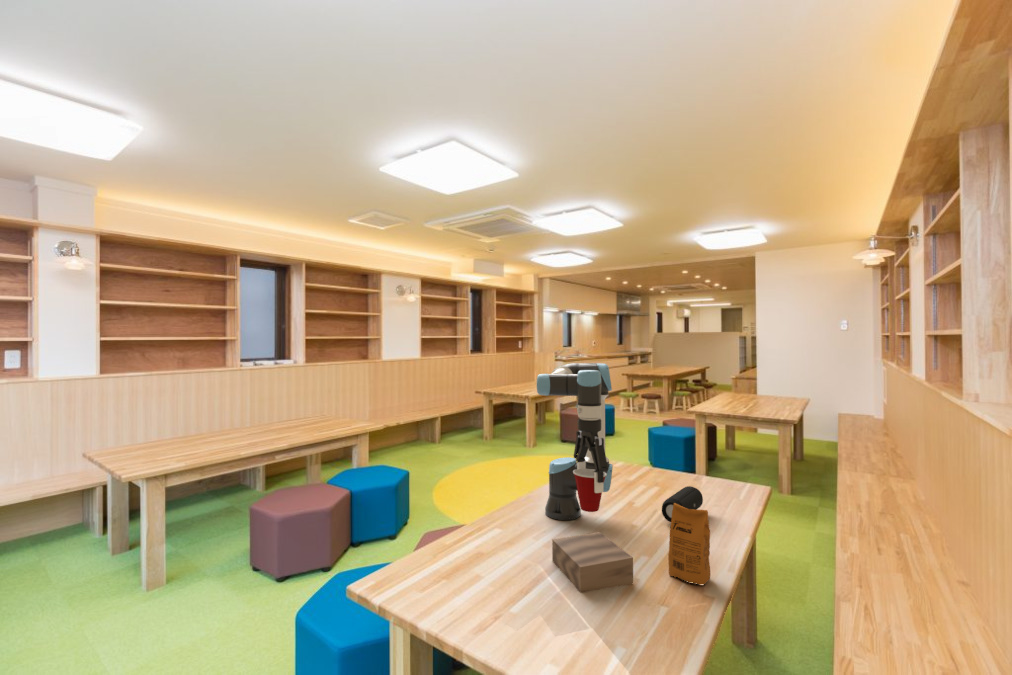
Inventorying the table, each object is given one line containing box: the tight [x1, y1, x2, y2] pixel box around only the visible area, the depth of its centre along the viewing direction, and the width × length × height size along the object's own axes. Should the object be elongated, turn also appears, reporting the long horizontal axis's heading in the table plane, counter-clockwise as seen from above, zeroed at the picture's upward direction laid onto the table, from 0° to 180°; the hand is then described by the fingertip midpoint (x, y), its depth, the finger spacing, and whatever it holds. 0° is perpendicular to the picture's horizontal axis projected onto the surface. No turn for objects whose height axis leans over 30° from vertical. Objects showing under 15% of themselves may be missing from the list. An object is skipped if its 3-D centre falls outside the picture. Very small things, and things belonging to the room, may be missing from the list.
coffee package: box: [667, 503, 711, 585], centre depth 144 cm, size 10×12×22 cm
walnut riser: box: [551, 531, 634, 593], centre depth 146 cm, size 20×18×8 cm
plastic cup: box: [573, 469, 607, 513], centre depth 146 cm, size 11×11×12 cm
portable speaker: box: [661, 485, 704, 523], centre depth 194 cm, size 26×10×10 cm, turn 139°
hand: (589, 486), depth 146 cm, fingers closed on plastic cup, 11 cm apart
